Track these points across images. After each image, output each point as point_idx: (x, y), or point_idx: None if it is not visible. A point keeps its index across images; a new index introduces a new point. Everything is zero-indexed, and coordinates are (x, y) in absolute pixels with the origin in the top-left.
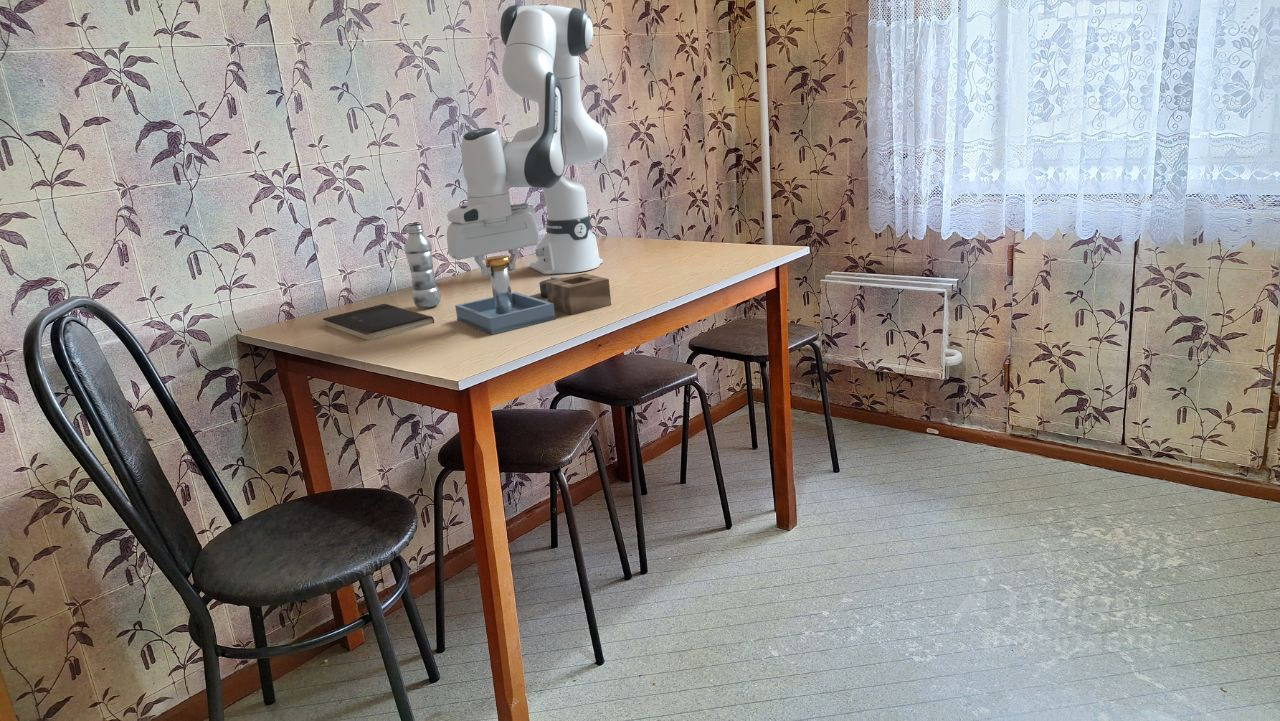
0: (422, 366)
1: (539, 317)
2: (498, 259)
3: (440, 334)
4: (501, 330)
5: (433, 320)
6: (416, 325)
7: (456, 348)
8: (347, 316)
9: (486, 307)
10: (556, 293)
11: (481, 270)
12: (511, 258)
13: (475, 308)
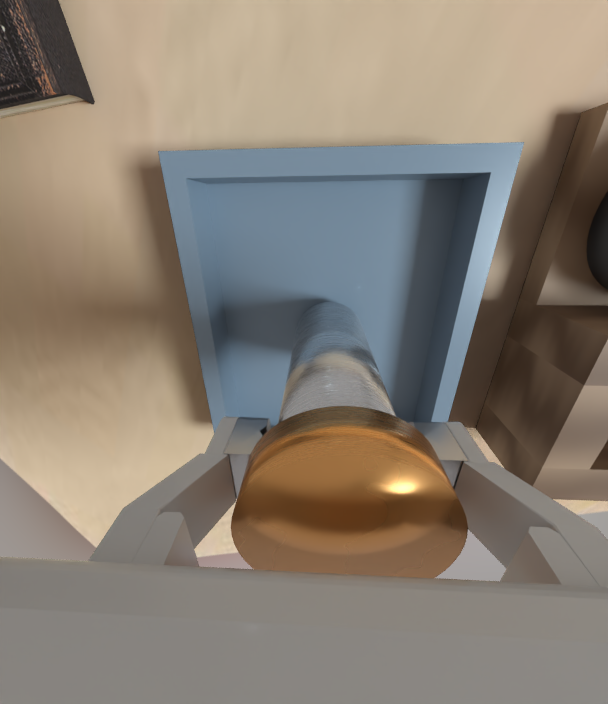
0: (60, 492)
1: None
2: None
3: (108, 307)
4: None
5: (84, 99)
6: (9, 111)
7: (134, 450)
8: None
9: (319, 180)
10: (537, 396)
11: (213, 437)
12: (485, 509)
13: (264, 180)
